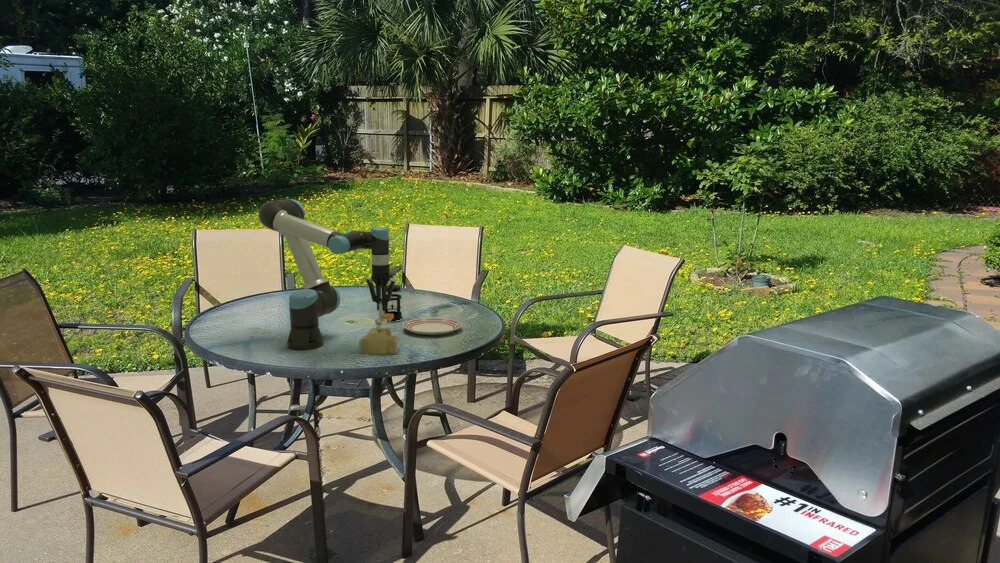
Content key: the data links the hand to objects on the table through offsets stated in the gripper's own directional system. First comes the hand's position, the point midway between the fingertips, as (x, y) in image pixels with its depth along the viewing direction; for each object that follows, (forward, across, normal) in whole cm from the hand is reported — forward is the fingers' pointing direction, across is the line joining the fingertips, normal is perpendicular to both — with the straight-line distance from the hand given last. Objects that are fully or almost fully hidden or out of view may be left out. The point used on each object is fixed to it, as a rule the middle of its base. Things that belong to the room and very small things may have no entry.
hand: (381, 317), depth 317 cm
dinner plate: (+12, +14, +28) cm, 33 cm away
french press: (+12, -11, +42) cm, 45 cm away
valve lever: (+3, +2, -4) cm, 5 cm away
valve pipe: (+12, +2, -10) cm, 16 cm away
